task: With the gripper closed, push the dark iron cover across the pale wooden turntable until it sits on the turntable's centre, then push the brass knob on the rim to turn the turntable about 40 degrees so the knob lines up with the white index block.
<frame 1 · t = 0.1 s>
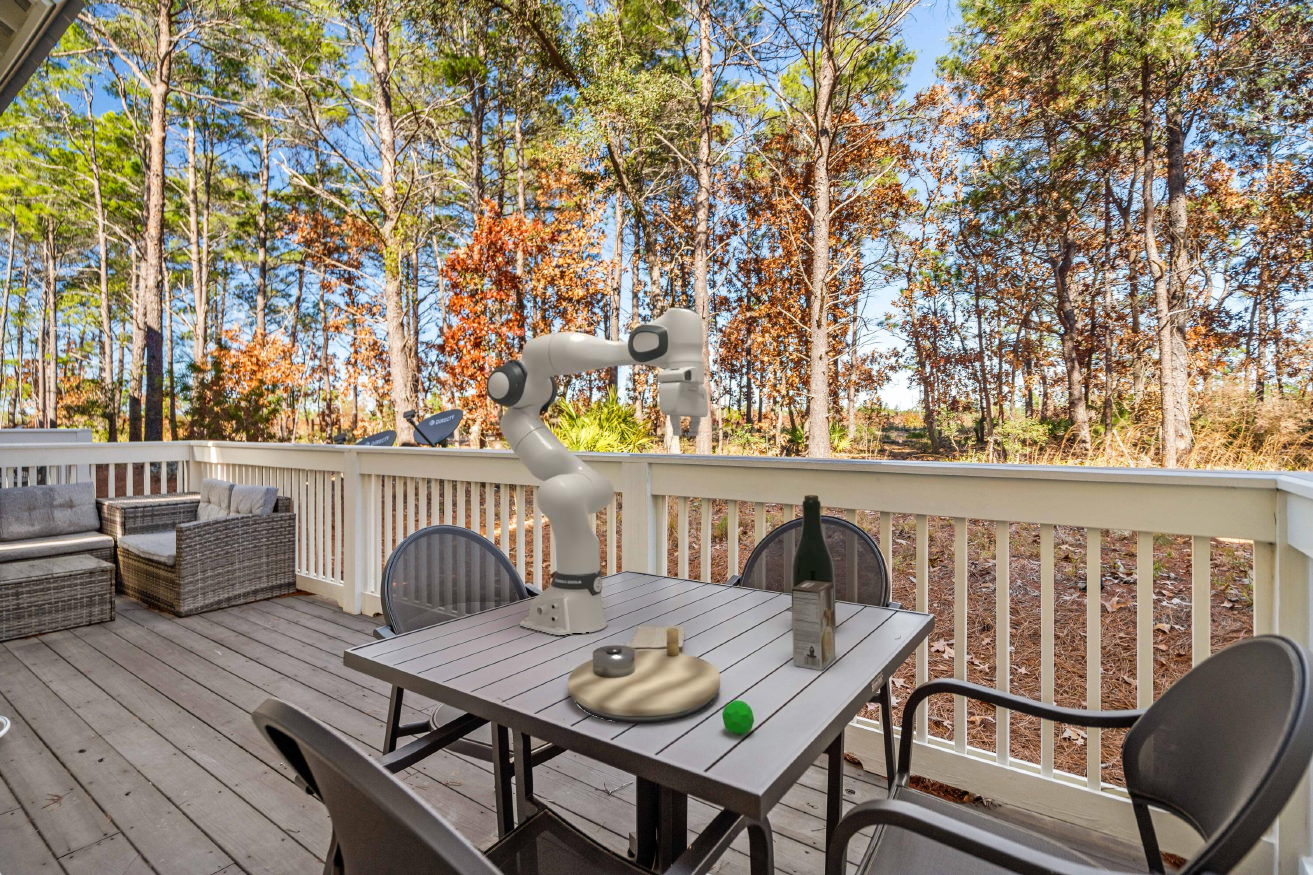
hand: (686, 435, 147), 48 cm above the table, tool pointing down, fingers open, 8 cm apart
polyhedron: (738, 733, 100), on the table
iron cover: (614, 670, 119), point 3 cm above the table, touching turntable
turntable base: (644, 692, 116), on the table
wine bottle: (813, 631, 153), on the table
washcloth: (658, 647, 144), on the table
coffee box: (814, 662, 131), on the table
turntable: (644, 665, 117), point 5 cm above the table, hinge at 0.0°, touching iron cover
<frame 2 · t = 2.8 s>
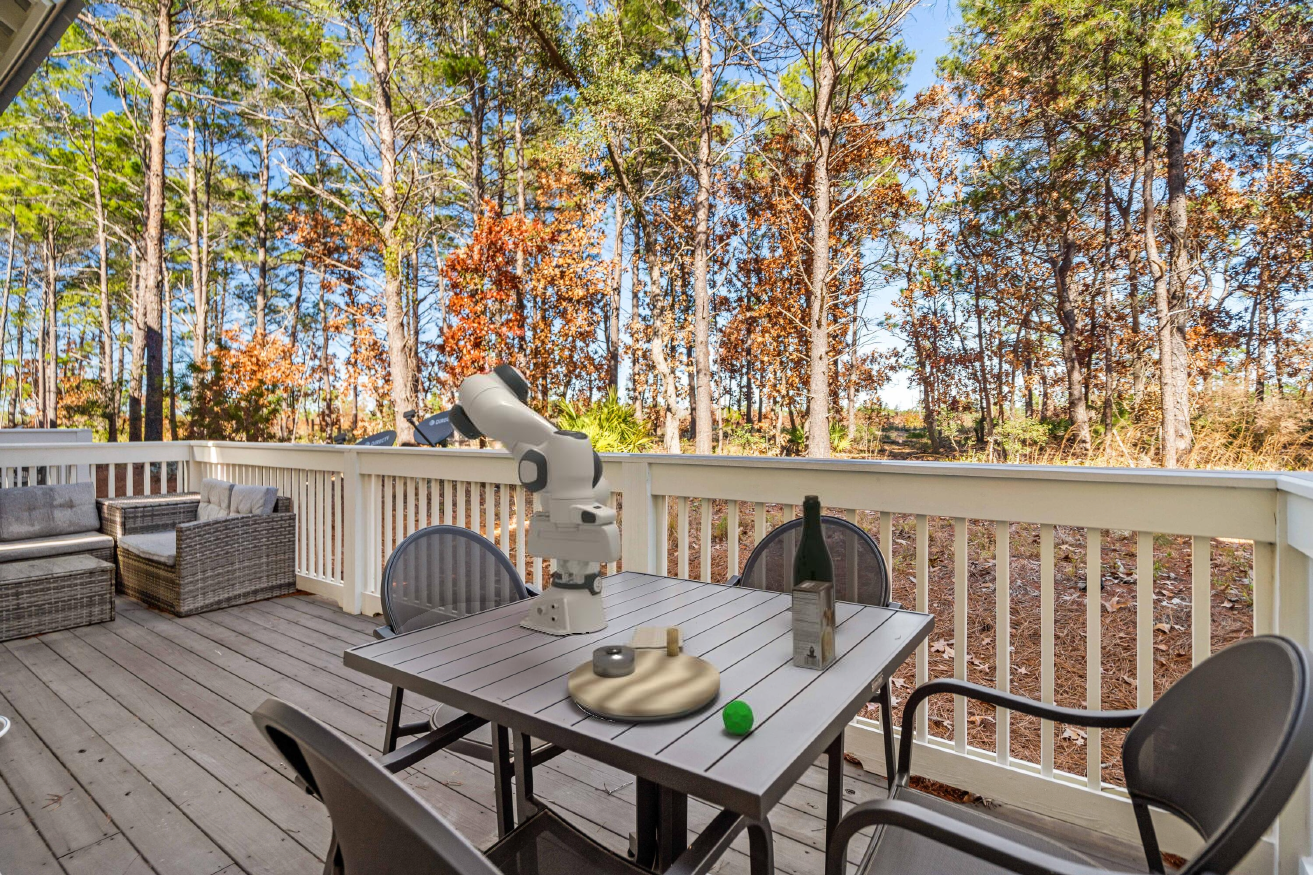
hand: (573, 582, 124), 19 cm above the table, tool pointing down, fingers closed
nothing on the table moved.
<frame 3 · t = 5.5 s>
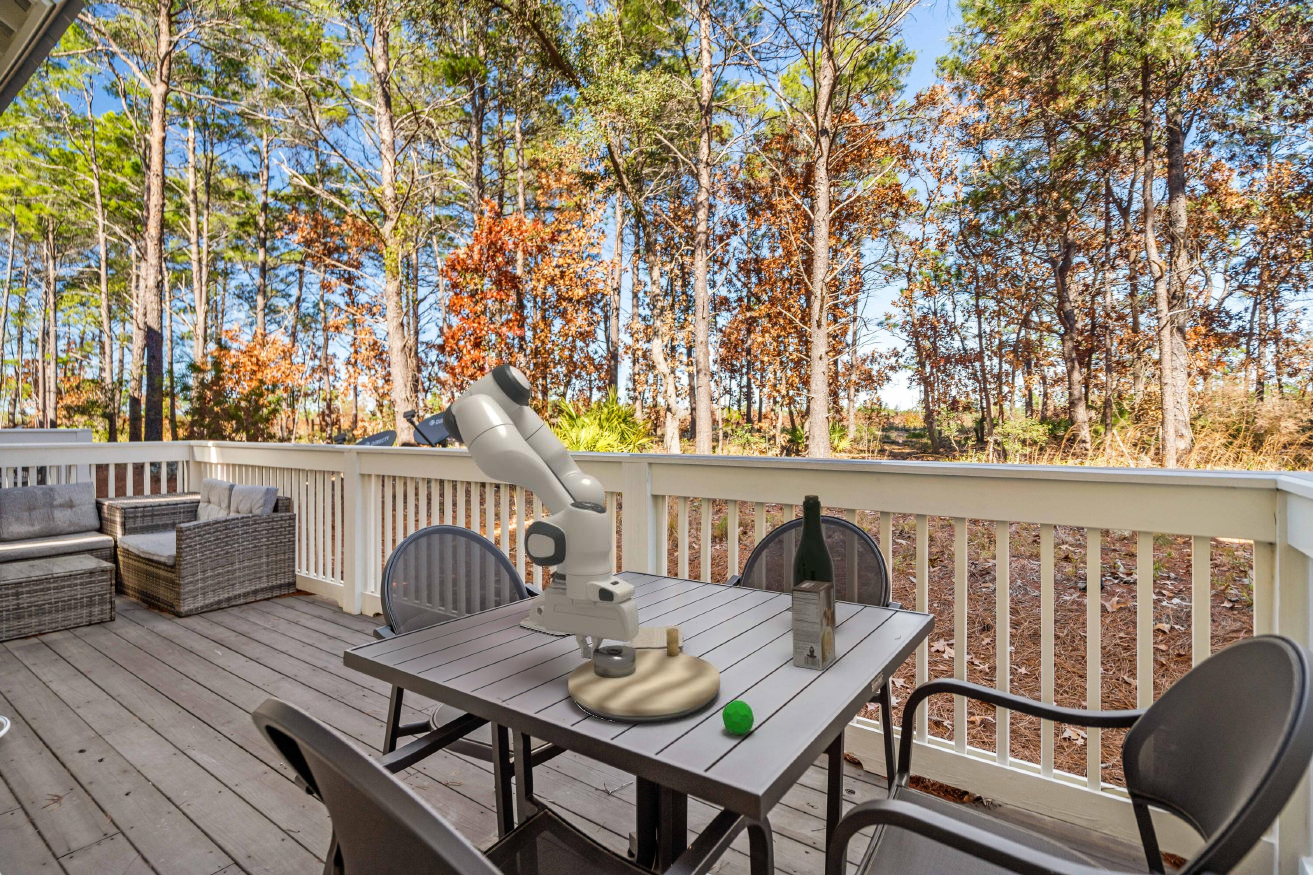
hand: (589, 657, 121), 5 cm above the table, tool pointing down, fingers closed
iron cover: (615, 670, 119), point 3 cm above the table, touching gripper, turntable
everything else where it was.
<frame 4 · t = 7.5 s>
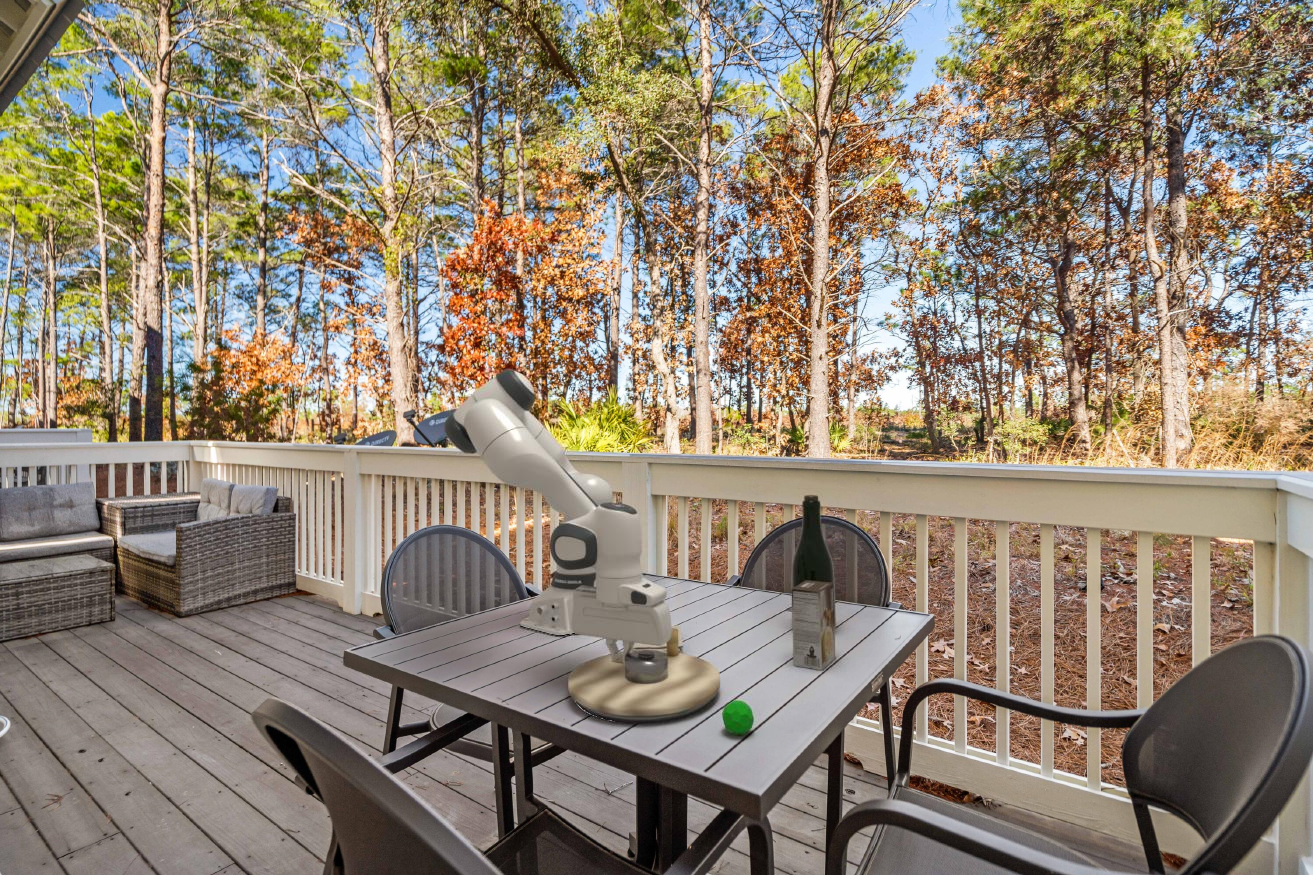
hand: (620, 662, 119), 5 cm above the table, tool pointing down, fingers closed
iron cover: (646, 675, 116), point 3 cm above the table, touching turntable
everything else where it was.
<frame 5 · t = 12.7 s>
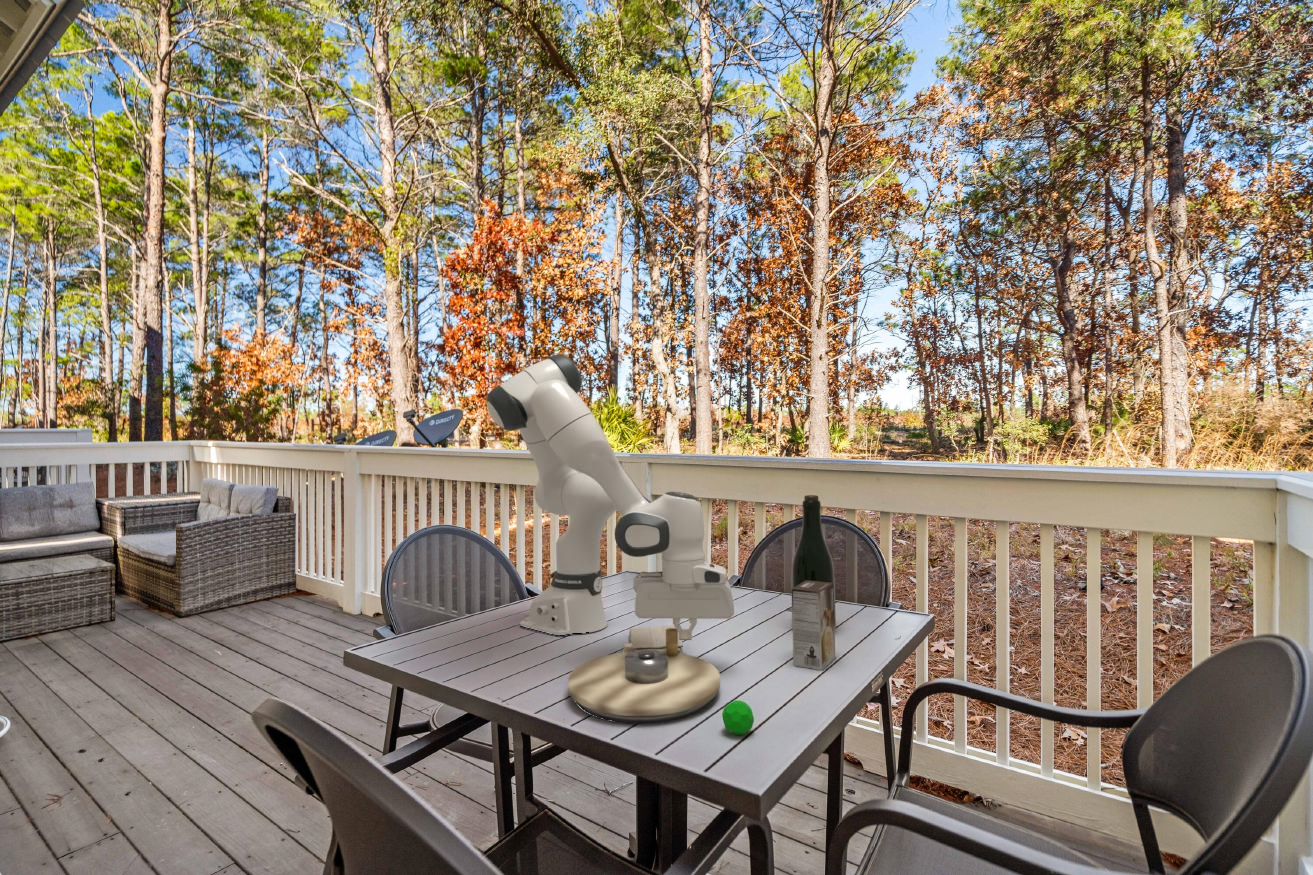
hand: (685, 639, 128), 6 cm above the table, tool pointing down, fingers closed
turntable: (644, 665, 117), point 5 cm above the table, hinge at 0.8°, touching gripper, iron cover
everything else where it was.
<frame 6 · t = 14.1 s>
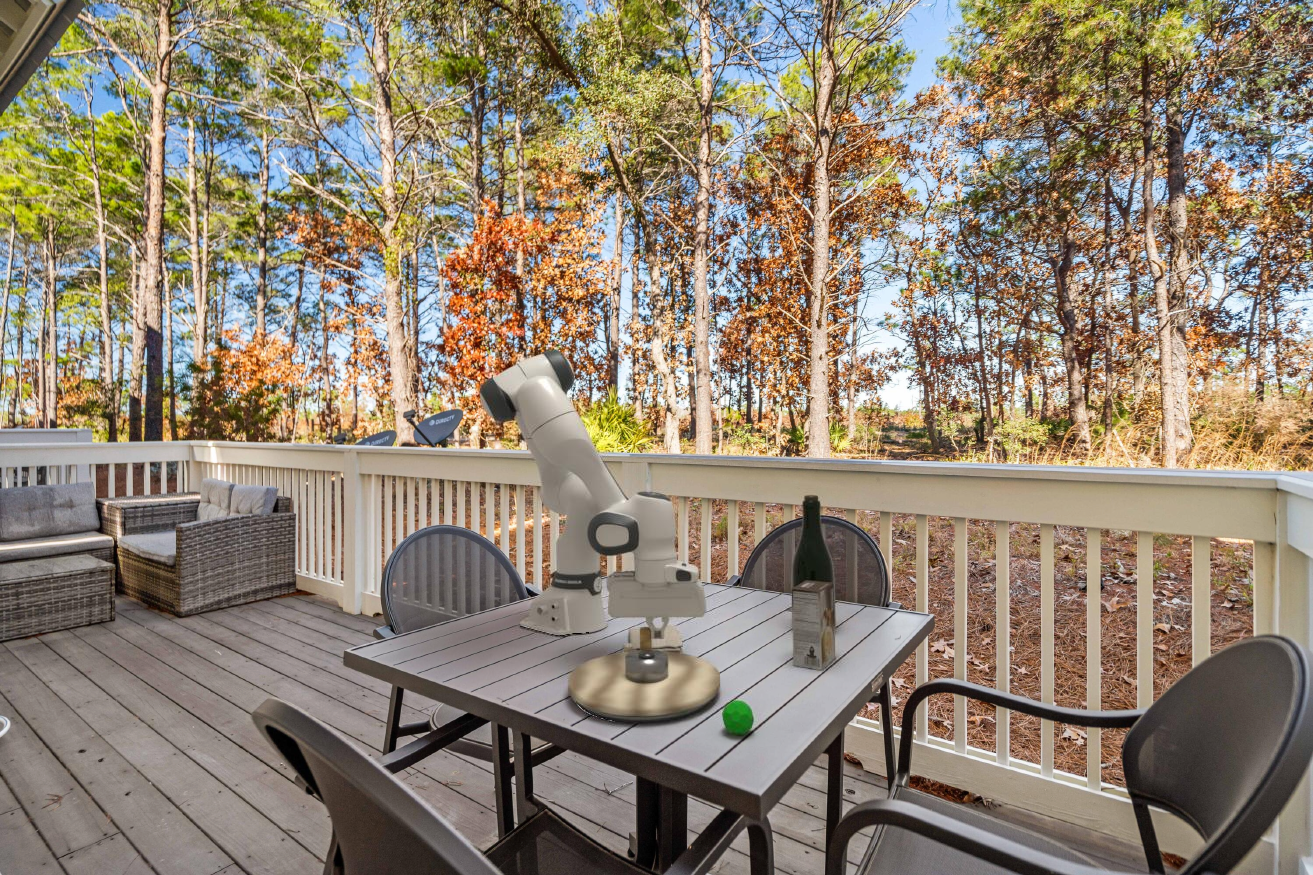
hand: (658, 638, 129), 6 cm above the table, tool pointing down, fingers closed
turntable: (644, 665, 117), point 5 cm above the table, hinge at 26.2°, touching gripper, iron cover
everything else where it was.
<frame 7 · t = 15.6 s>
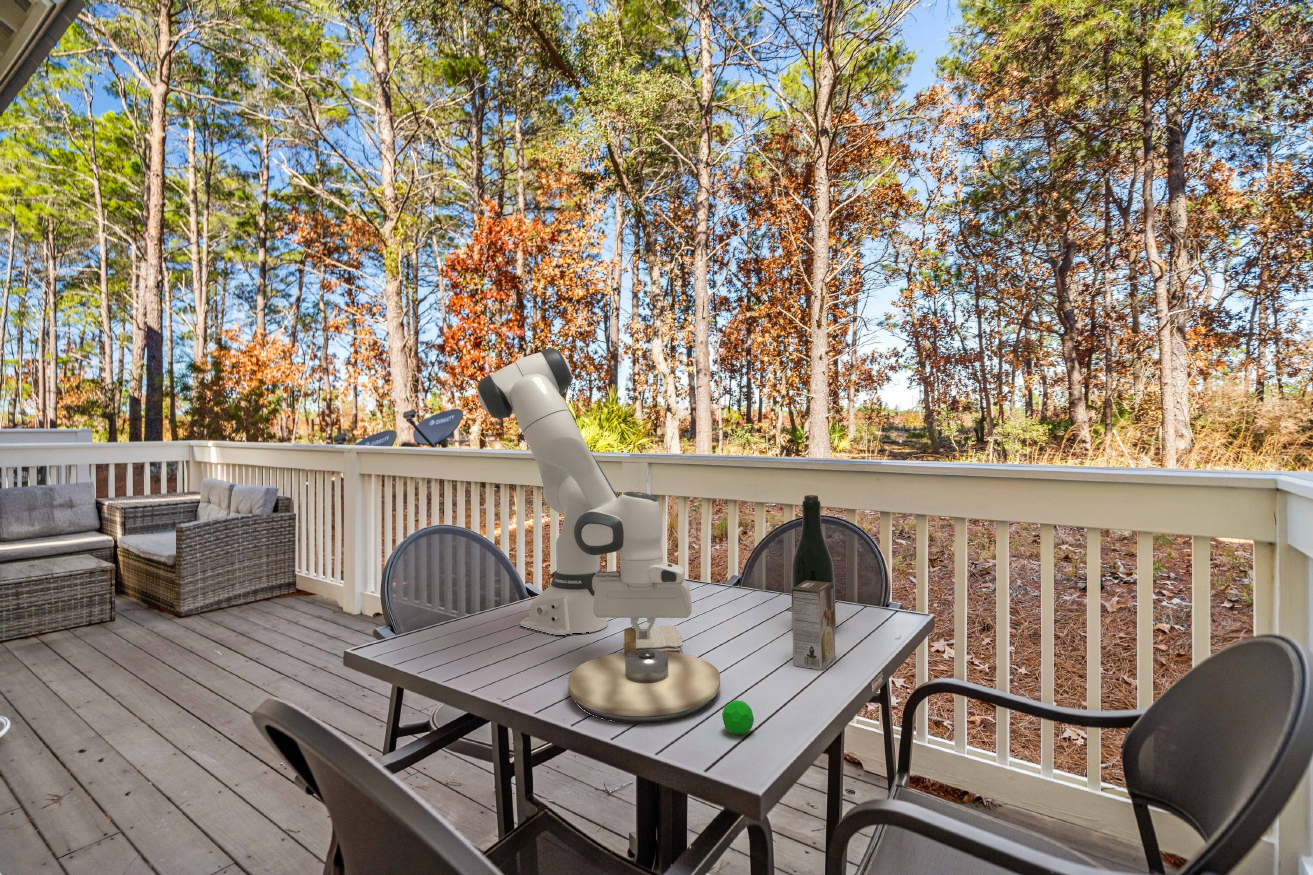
hand: (643, 638, 129), 6 cm above the table, tool pointing down, fingers closed
turntable: (644, 665, 117), point 5 cm above the table, hinge at 40.9°, touching gripper, iron cover
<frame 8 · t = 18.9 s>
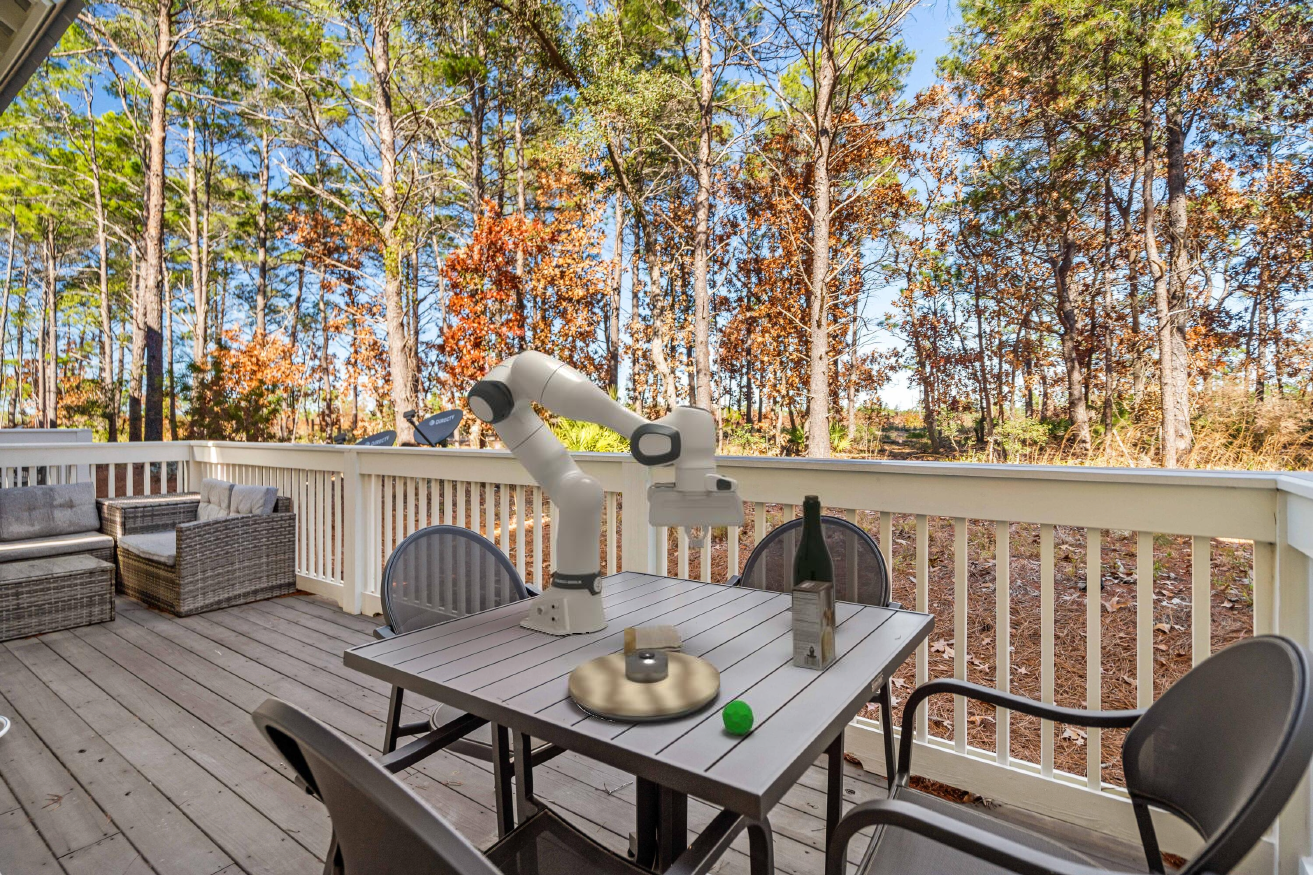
hand: (697, 547, 132), 24 cm above the table, tool pointing down, fingers closed
turntable: (644, 665, 117), point 5 cm above the table, hinge at 40.9°, touching iron cover
at the end: iron cover 0.5 cm from the turntable (horizontally); turntable at +41° (first picture: +0°); iron cover tilted 0° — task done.
